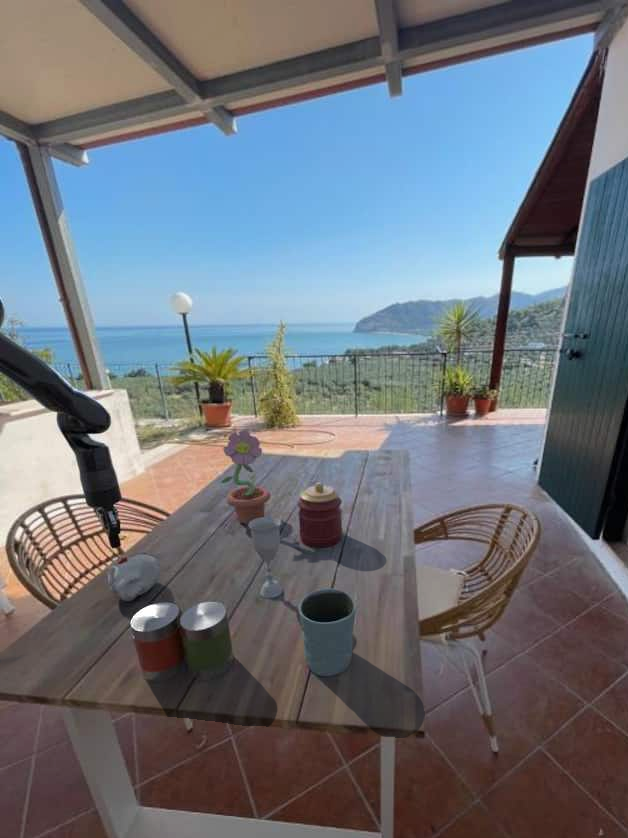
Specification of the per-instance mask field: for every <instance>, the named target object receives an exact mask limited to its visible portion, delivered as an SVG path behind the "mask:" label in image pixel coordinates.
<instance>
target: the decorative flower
mask: <svg viewBox="0 0 628 838" xmlns="http://www.w3.org/2000/svg"><path fill="white" fill-rule="evenodd" d="M227 440H228V443H227V445H226V446H224V447H223V448H222V450H223V452H224V455H225V456H227V457H229V458H230V459H231V462H232V463H233V464H236V466H235V468H234V470H233V474H232V475H231V476H230V475H229V476H226V477H224V478H223V479H222V480H221V482H220V484H226V483H229V482H231V481H232V482H233V483H234V484H235V485H237V486H243V487H238V488H235V489H233V490H232V491H230V492H229V493H228V494H227V495H226V503H227V504H228V505H229V506H231V507H234V510H235V514H236V518H237V519H236V520H238V522H239V523H241V524H243V523H244V524H243V525H248V524H249V522H250V521H252V520H254V519H257V518H261V517H265V503H268V501H269V500H270V499H271V493H270V491H269V490H268V489H267V488H265V487H263V486H256V485H255V483H254V482H253V481H254V480H255V477H256V475H253V476H252V475H251V477H250V479H240V478H239V476H240V473H241V470H242V468H244V469H245V470H246V471H247V472H249V473H254V470H253V469H252V468H251V466H250V465H251V464H254V463H255V462H256V461H255V460H256V459H257V458H260V457H261V456H262V453H263V449H262V448H261V447H260V445H261V443H260V441H259V438H258V437H256V436H253V435H251V432H250V431H248V430H239V431H238V433H237V432H232V433H231V434H230V435H229V436H228V438H227Z"/></svg>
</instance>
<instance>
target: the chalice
mask: <svg viewBox="0 0 628 838" xmlns="http://www.w3.org/2000/svg"><path fill="white" fill-rule="evenodd" d="M281 523H282V521H281V520H280V519H279V518H277V517H273V516H264V517H261V518H257V519H254V520H252V521H250V522H249V524H247V526H248V528H249V529H250V531H251V541H252V546H253V548H254V550H255V552H256V553H257V555H258V556H259V557H260V559H261V560H262V561H264V562H265V563H266V565H265V567H264V568H265V569H266V573H265V576H266V577H267V580H266V581H265V582H264V583H263V584H262V587H261V590H260V596H262V598H266V599H273V598H276V597H278V596H280V595H281V594H282V592H283V588H282V587H281V585H280V584H279V582H278V581H277V580H275V579H273V575H274V574H275V573H274V572H273V570H272V569H273V566H272V563H271V561H274V559H275V558H276V555H277V553H278V551H279V548H280V544H281V534H280V533H281V532H280V526H281Z"/></svg>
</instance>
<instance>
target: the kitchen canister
mask: <svg viewBox="0 0 628 838" xmlns="http://www.w3.org/2000/svg"><path fill="white" fill-rule="evenodd" d="M339 494H340V493H339V491H338V490H337V489H335V488H333V487H331V486H329V485H324V484H323V483H322V482H317V483H314V485H313V486H309V487H307V488H305V489H304V490H303V491H301V492H300V494H299V497H300V498H299V500H298V501H297V506H298V507H299V510H298V513H297V514H298V521H299V531H298V532H299V538H300V541H301V542H302V543H303V544H305V545H307V546H311V547H314V548H315V547H316V548H319V547H320V548H321V547H322V548H323V547H328V546H332V545H335V544H337V543H338V542H340V541H341V539H342V535H343V526H342V525H343V523H342V522H343V521H342V513H343V510H342V508H341V505H342V502H343V500H342V498H341V497H339Z"/></svg>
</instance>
